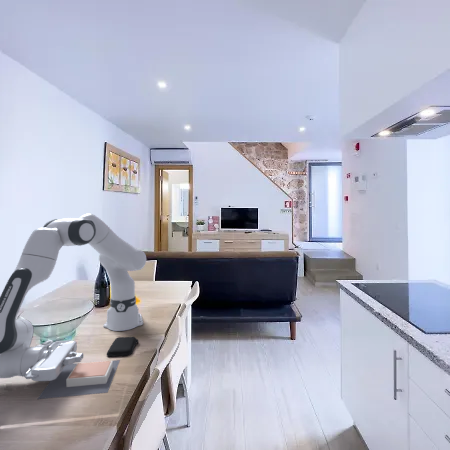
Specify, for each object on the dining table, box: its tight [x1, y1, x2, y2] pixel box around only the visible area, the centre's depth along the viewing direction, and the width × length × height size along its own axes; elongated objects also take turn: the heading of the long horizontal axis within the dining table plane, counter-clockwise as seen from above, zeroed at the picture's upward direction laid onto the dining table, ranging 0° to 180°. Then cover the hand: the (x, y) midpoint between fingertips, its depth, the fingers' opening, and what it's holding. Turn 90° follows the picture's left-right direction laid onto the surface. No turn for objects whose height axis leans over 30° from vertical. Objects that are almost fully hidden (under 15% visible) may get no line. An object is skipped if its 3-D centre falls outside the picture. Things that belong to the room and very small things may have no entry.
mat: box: [37, 359, 121, 400], centre depth 98 cm, size 20×20×1 cm
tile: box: [66, 360, 114, 387], centre depth 99 cm, size 10×3×12 cm
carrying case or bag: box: [106, 336, 140, 358], centre depth 119 cm, size 11×3×15 cm
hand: (82, 357), depth 98 cm, fingers closed
